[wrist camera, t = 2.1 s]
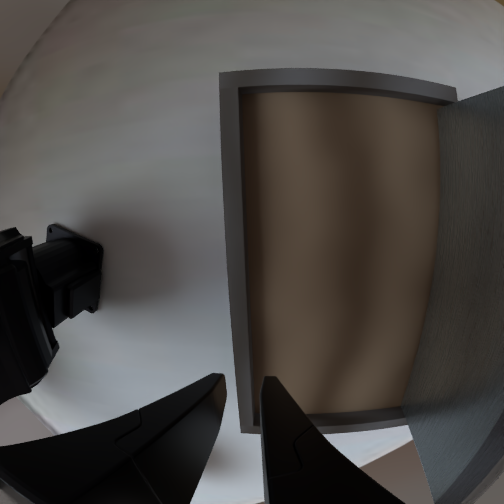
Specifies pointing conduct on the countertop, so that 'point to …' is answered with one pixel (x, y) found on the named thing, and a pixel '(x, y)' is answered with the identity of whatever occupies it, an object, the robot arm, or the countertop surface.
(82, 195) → the countertop surface
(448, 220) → the panel
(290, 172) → the tray
